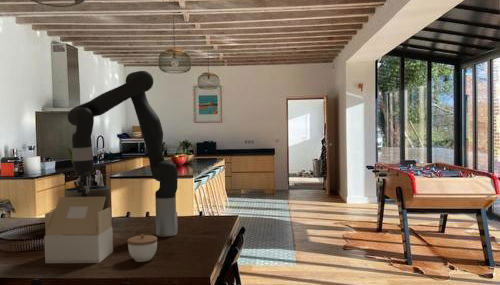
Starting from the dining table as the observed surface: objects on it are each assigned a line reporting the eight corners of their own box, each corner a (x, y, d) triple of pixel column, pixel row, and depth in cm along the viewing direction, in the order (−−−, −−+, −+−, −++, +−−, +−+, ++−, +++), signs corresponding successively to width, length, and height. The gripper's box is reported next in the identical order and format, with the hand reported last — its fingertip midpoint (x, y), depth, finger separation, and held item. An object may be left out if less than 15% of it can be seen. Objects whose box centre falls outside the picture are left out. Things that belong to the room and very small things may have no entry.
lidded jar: (133, 255, 162) (132, 230, 162) (160, 254, 162) (160, 230, 162) (124, 264, 152) (123, 238, 151) (153, 263, 151) (152, 237, 151)
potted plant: (79, 220, 227) (77, 146, 226) (117, 221, 224) (115, 146, 223) (56, 230, 207) (54, 148, 205) (98, 230, 204) (95, 147, 202)
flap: (105, 197, 163) (105, 196, 163) (95, 234, 153) (94, 233, 152) (60, 198, 164) (59, 197, 164) (46, 234, 154) (45, 233, 153)
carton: (113, 251, 168) (112, 206, 167) (99, 262, 153) (97, 213, 153) (64, 251, 169) (62, 206, 168) (45, 263, 154) (43, 214, 154)
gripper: (85, 160, 158) (87, 206, 159) (99, 156, 171) (101, 198, 172) (65, 161, 158) (68, 206, 160) (81, 157, 171) (83, 199, 173)
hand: (85, 202), depth 166 cm, fingers closed
